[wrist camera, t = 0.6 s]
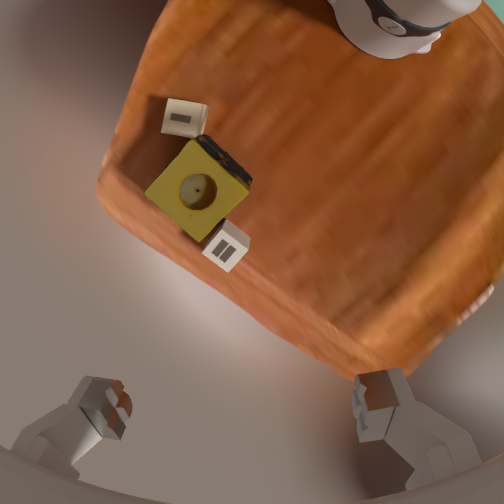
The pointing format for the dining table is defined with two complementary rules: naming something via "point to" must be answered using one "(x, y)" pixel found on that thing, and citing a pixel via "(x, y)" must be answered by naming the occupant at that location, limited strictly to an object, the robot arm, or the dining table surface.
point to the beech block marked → (184, 118)
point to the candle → (200, 187)
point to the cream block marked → (227, 246)
